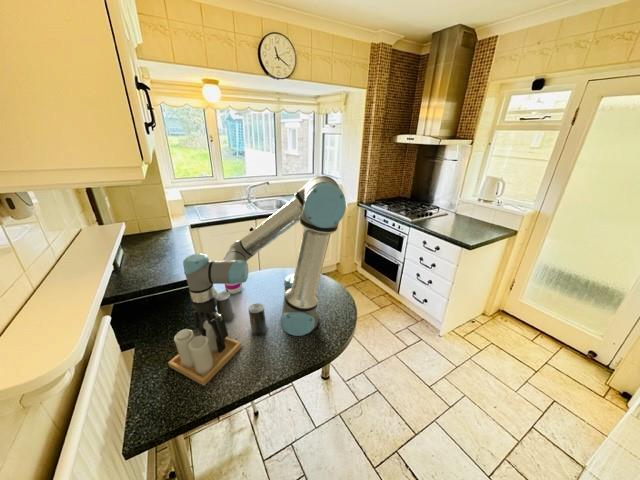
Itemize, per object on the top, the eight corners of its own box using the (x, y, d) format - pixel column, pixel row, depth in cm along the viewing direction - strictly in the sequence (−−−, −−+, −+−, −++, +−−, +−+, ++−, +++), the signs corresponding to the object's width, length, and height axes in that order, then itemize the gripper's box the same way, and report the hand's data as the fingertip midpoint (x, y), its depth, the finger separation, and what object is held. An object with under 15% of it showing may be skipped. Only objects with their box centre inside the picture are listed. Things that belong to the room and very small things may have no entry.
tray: (241, 347, 99) (240, 342, 98) (204, 387, 84) (202, 381, 83) (209, 333, 105) (208, 328, 104) (169, 367, 90) (167, 362, 89)
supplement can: (237, 295, 129) (233, 269, 123) (222, 293, 130) (218, 268, 124) (245, 286, 136) (241, 261, 130) (231, 284, 138) (226, 260, 131)
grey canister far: (236, 316, 115) (232, 294, 110) (226, 324, 110) (222, 302, 105) (226, 312, 117) (222, 290, 112) (216, 320, 112) (211, 298, 108)
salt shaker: (215, 356, 94) (208, 329, 89) (203, 351, 96) (196, 324, 91) (226, 345, 99) (221, 319, 94) (215, 340, 101) (209, 314, 96)
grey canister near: (269, 328, 108) (266, 305, 103) (260, 338, 103) (257, 314, 98) (257, 324, 110) (255, 301, 105) (248, 333, 105) (245, 310, 100)
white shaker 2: (218, 364, 91) (211, 337, 86) (204, 378, 86) (196, 350, 81) (205, 358, 93) (198, 331, 88) (191, 371, 88) (183, 343, 83)
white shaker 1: (203, 357, 94) (196, 330, 88) (189, 370, 89) (181, 342, 83) (192, 352, 96) (184, 325, 91) (178, 364, 91) (169, 336, 86)
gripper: (233, 298, 87) (241, 348, 96) (192, 284, 95) (204, 331, 104) (216, 311, 81) (227, 363, 90) (174, 295, 89) (188, 344, 98)
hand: (214, 346), depth 97 cm, fingers open, 7 cm apart
